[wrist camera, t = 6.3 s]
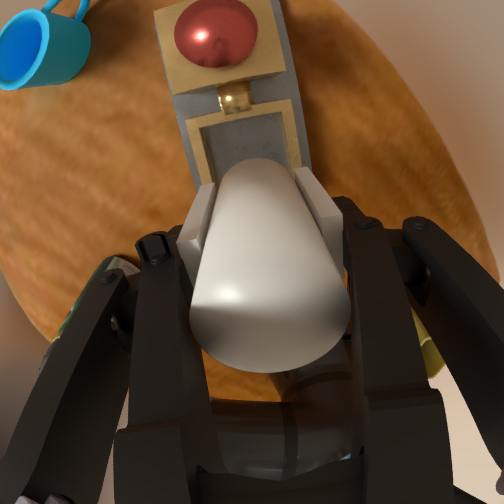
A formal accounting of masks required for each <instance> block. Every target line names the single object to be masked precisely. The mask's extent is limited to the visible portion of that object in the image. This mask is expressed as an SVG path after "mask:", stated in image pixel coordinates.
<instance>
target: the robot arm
mask: <svg viewBox="0 0 504 504" xmlns="http://www.w3.org/2000/svg"><path fill="white" fill-rule="evenodd" d="M293 169H294V177H295V183H296V185H297V187H298V189H299V191H300V193H301V195H302V197H303V199H304V200H305V202H306V204H307V206H308V208H309V210H310V212H311V214H312V216H313V218H314V221H315V223H316V225H317V227H318V229H319V231H320V233H321V235H322V237H323V239H324V241H325V243H326V245H327V248H328V250H329V252H330V254H331V256H332V258H333V260H334V263H335V265H336V267H337V269H338V271H339V274H340V276H341V278H342V279H343V278H344V267H345V269H346V271H347V273H348V278H347V292H348V294H349V297H350V302H351V315H350V322H349V323H348V326H347V328H346V331H345V333H344V334H343V336H342V337H341V339H340V340H339V341H338V342H337V344H336V345H335V346H334V347H333V348H332V349H330V350H329V351H328V352H327V353H326V354H324V355H323V356H321V357H320V358H318V359H316V360H315V361H313V362H311V363H309V364H306V365H304V366H301V367H298V368H295V369H291V370H287V371H282V372H273V373H268V374H269V376H270V378H271V380H272V382H273V384H274V386H275V388H276V390H277V392H278V393H279V395H280V397H281V402H266V401H245V400H230V399H218V398H214V397H211V396H210V397H209V392H208V386H207V381H206V375H205V369H204V363H203V357H202V351H201V346H200V345H199V344H198V342H197V341H196V339H195V337H194V335H193V333H192V330H191V327H190V321H189V314H190V307H191V303H192V294H193V292H194V289H195V284H196V280H197V276H198V271H199V267H200V262H201V258H202V254H203V250H204V246H205V241H206V237H207V233H208V229H209V225H210V221H211V217H212V213H213V209H214V205H215V201H216V198H217V192H216V188H215V184H214V183H209V184H205V185H201V186H200V188H199V190H198V193H197V195H196V197H195V199H194V202H193V204H192V206H191V209H190V211H189V213H188V216H187V218H186V220H185V223H184V224H183V225H178V226H174V227H173V228H172V229H171V230H170V231H169V232H168V233H167V232H165V231H158V232H153V233H150V234H148V235H145V236H144V237H142V238H140V239H139V240H138V241H137V242H136V244H135V247H136V250H137V252H138V255H139V257H140V259H141V262H142V269H141V271H140V272H138V273H135V274H132V275H129V276H127V277H126V276H125V274H124V271H123V269H120V268H114V269H109V270H107V271H104V272H103V273H102V274H101V275H99V276H98V277H97V278H96V280H95V281H94V283H93V284H92V286H91V287H90V289H89V290H88V292H87V293H86V295H85V296H84V298H83V300H82V301H81V303H80V304H79V306H78V308H77V309H76V311H75V312H74V314H73V316H72V317H71V319H70V321H69V322H68V324H67V326H66V328H65V329H64V331H63V333H62V334H61V336H60V338H59V340H58V341H57V343H56V345H55V347H54V349H53V351H52V352H51V354H50V356H49V358H48V360H47V362H46V364H45V365H44V367H43V369H42V371H41V373H40V375H39V377H38V379H37V381H36V383H35V385H34V387H33V390H32V392H31V394H30V396H29V398H28V400H27V403H26V405H25V407H24V409H23V411H22V414H21V416H20V419H19V421H18V423H17V425H16V428H15V430H14V433H13V435H12V438H11V441H10V443H9V446H8V448H7V451H6V453H5V455H4V456H3V458H2V459H1V461H0V504H97V503H98V500H99V497H100V493H101V490H102V486H103V481H104V477H105V473H106V468H107V464H108V460H109V456H110V452H111V448H112V444H113V440H114V447H113V452H114V453H113V466H114V467H113V469H114V470H113V471H114V499H115V504H487V503H485V502H483V501H481V500H479V499H477V498H476V497H474V496H472V495H470V494H468V493H466V492H465V491H463V490H461V489H459V488H458V487H456V486H454V485H453V471H452V460H451V450H450V441H449V433H448V426H447V420H446V413H445V407H444V402H443V398H442V395H441V393H440V391H439V390H438V389H434V388H431V387H430V385H429V382H428V377H427V372H426V367H425V363H424V358H423V354H422V349H421V345H420V341H419V337H418V333H417V329H416V325H415V321H414V318H413V314H412V311H411V307H412V308H413V310H414V311H415V313H416V314H417V316H418V318H419V319H420V321H421V322H422V324H423V326H424V327H425V329H426V331H427V332H428V334H429V336H430V337H431V339H432V341H433V342H434V344H435V346H436V348H437V349H438V351H439V353H440V355H441V356H442V358H443V360H444V362H445V364H446V365H447V367H448V369H449V371H450V372H451V375H452V376H453V378H454V380H455V382H456V384H457V386H458V388H459V390H460V392H461V394H462V396H463V398H464V400H465V402H466V404H467V406H468V408H469V410H470V412H471V414H472V416H473V418H474V421H475V423H476V425H477V427H478V430H479V432H480V434H481V436H482V439H483V441H484V443H485V445H486V446H487V449H488V451H489V453H490V454H491V456H492V457H493V459H494V460H495V462H496V464H497V465H498V466H499V467H500V469H501V470H502V472H501V476H500V478H499V479H498V481H497V483H496V491H497V492H498V493H499V494H500V495H504V289H503V288H502V287H501V286H500V285H499V284H498V283H497V282H496V281H495V280H494V279H493V278H492V276H491V275H490V274H489V273H488V272H487V271H486V270H485V269H484V268H483V267H482V266H481V265H480V264H479V263H478V262H477V261H476V260H475V259H474V258H473V257H472V256H471V255H470V254H469V253H468V252H466V251H465V250H464V249H463V248H462V247H461V246H460V245H459V244H458V243H457V242H456V241H455V240H454V239H452V238H451V237H450V236H449V235H448V234H447V233H446V232H445V231H444V230H442V229H441V228H440V227H439V226H438V225H437V224H435V223H434V222H433V221H431V220H430V219H427V218H424V217H421V216H416V217H410V218H407V219H405V220H404V221H403V227H402V229H385V228H384V227H383V225H382V223H381V222H380V220H378V219H376V218H373V217H367V216H365V215H364V214H363V213H362V211H361V210H360V209H358V207H357V206H356V205H355V203H354V202H353V201H352V200H351V199H349V198H347V197H344V196H340V197H333V198H330V196H329V195H328V193H327V192H326V191H325V189H324V188H323V187H322V185H321V184H320V183H319V181H318V180H317V179H316V177H315V176H314V175H313V174H312V172H311V171H310V170H309V168H308V167H300V168H293ZM409 303H410V304H409ZM410 305H411V307H410ZM111 319H113V321H114V323H115V327H114V329H112V328H111ZM128 388H129V404H128V405H129V406H128V425H127V427H126V428H124V429H119V430H118V431H117V432H116V429H117V426H118V422H119V418H120V415H121V411H122V408H123V404H124V401H125V398H126V395H127V391H128ZM115 433H116V434H115Z"/></svg>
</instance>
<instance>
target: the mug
mask: <svg viewBox="0 0 504 504" xmlns="http://www.w3.org/2000/svg"><path fill="white" fill-rule="evenodd" d="M60 1H61V0H49V1H48V2H47V3H46V4H45V6H44V7H43V9H42V10H37V9H28V10H24V11H22V12H20V13H19V14H17V15H16V16H14V17H13V18H12V19H11V20H10V21H9V22H8V23H7V24H6V25H5V26H4V28H3V29H2V31H1V33H0V88H2V89H5V90H13V89H21V88H28V87H37V86H46V85H58V84H62V83H64V82H67V81H69V80H70V79H72V78H73V77H74V76H75V75H77V74H78V72H79V71H80V70H81V68H82V67H83V66H84V64H85V62H86V60H87V58H88V56H89V52H90V47H91V34H90V32H89V29H88V27H87V26H86V25H85V24H84V23H83V22H82V20H83V18H84V16H85V14H86V12H87V10H88V8H89V4H90V0H81V3H80V7H79V9H78V11H77V14H76V16H75V17H74V19H72V18H69V17H65V16H62V15H58V14H54V13H50V12H51V11H52V9H53V8H54V7H55V6H56V5H57V4H58V3H59V2H60Z"/></svg>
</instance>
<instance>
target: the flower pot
mask: <svg viewBox="0 0 504 504" xmlns="http://www.w3.org/2000/svg"><path fill="white" fill-rule="evenodd" d="M411 311H412V314H413V318H414V321H415V325H416V329H417V333H418V337H419V341H420V345H421V349H422V354H423V358H424V363H425V367H426V372H427V377H428V379H430V378H434V377H435V376H436V375H437V374H438V372H440V370H441V369H442V368H443V367H444V366H445V362H444V360H443V358H442V356H441V355H440V353H439V351H438V349H437V348H436V346H435V344H434V342H433V341H432V339H431V337H430V336H429V334H428V332H427V331H426V329H425V327H424V326H423V324H422V322H421V321H420V319H419V318H418V316H417V314H416V313H415V311H414V310H413V308H412V307H411Z"/></svg>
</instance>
